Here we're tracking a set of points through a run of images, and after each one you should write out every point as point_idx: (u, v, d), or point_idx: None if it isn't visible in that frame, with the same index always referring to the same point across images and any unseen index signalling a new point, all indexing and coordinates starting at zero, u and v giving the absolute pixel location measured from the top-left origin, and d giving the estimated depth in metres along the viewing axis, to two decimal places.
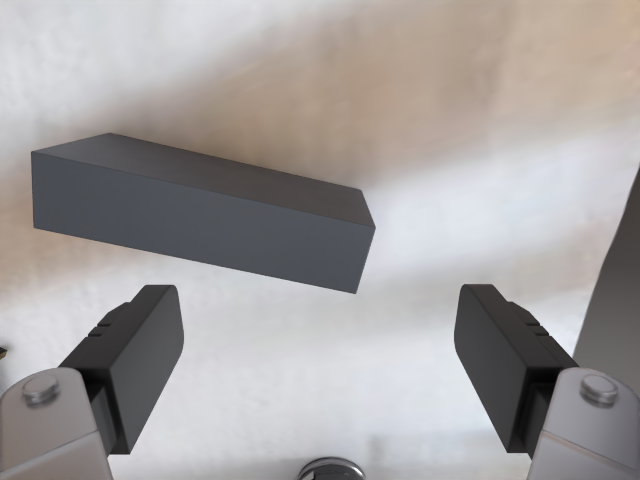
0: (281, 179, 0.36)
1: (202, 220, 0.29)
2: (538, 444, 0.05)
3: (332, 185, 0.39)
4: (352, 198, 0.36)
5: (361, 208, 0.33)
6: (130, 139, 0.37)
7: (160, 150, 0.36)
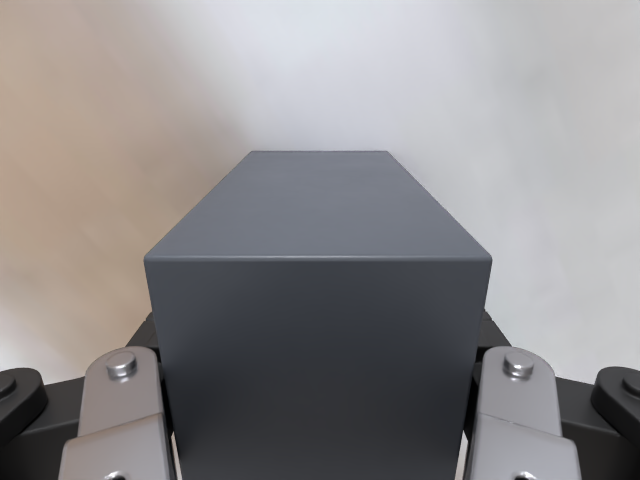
0: None
1: None
2: (477, 427, 0.05)
3: None
4: None
5: None
6: None
7: None
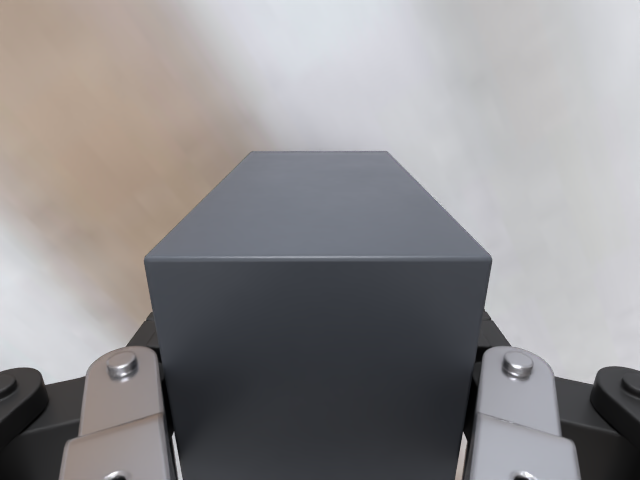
0: None
1: None
2: (476, 427, 0.05)
3: None
4: None
5: None
6: None
7: None
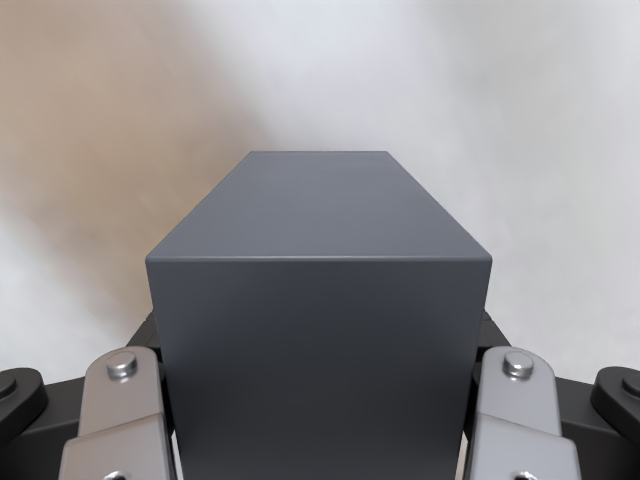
0: None
1: None
2: (477, 427, 0.05)
3: None
4: None
5: None
6: None
7: None
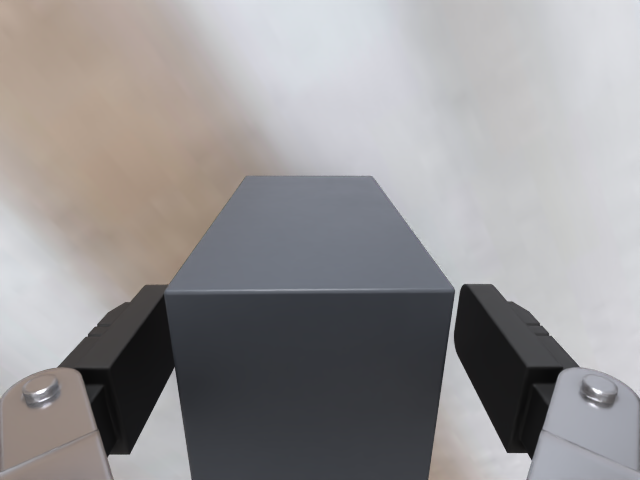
0: None
1: None
2: (538, 444, 0.05)
3: None
4: None
5: None
6: None
7: None
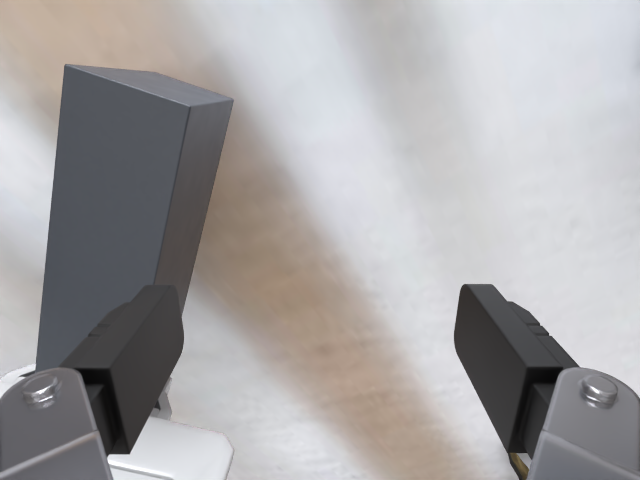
0: None
1: (85, 309, 0.22)
2: (538, 444, 0.05)
3: None
4: None
5: None
6: None
7: None
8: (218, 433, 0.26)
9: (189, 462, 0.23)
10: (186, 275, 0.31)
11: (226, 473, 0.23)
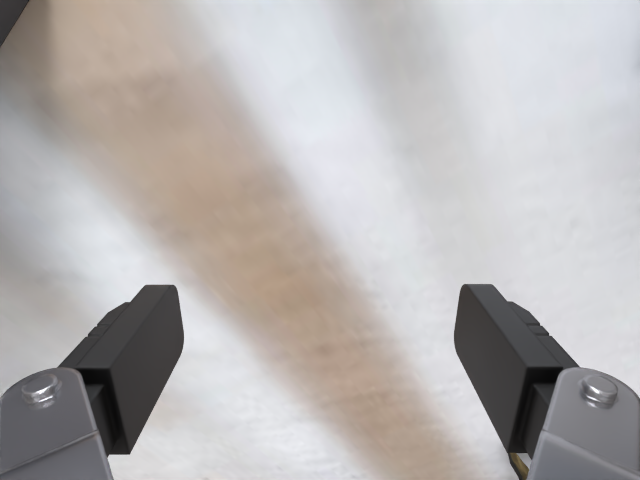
0: None
1: None
2: (538, 444, 0.05)
3: None
4: None
5: None
6: None
7: None
8: None
9: None
10: None
11: None
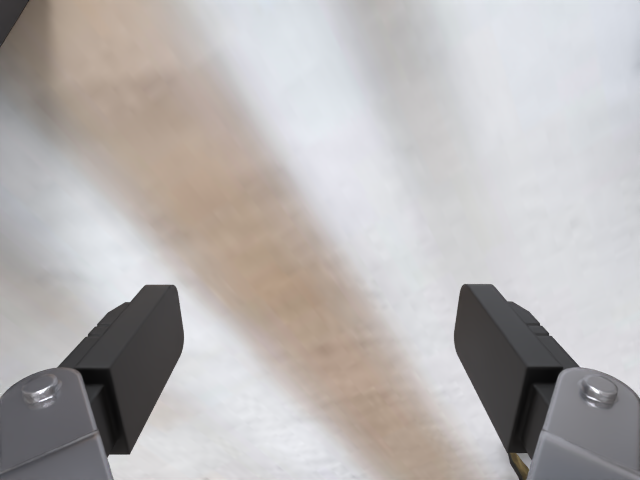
0: None
1: None
2: (538, 444, 0.05)
3: None
4: None
5: None
6: None
7: None
8: None
9: None
10: None
11: None
